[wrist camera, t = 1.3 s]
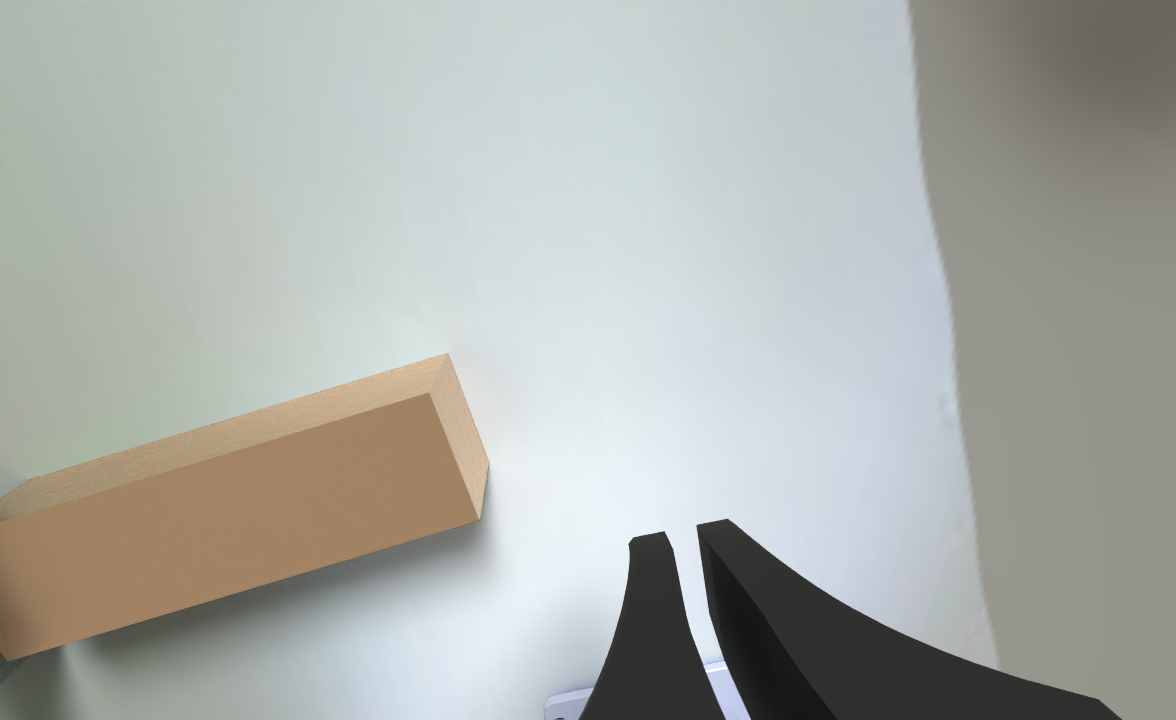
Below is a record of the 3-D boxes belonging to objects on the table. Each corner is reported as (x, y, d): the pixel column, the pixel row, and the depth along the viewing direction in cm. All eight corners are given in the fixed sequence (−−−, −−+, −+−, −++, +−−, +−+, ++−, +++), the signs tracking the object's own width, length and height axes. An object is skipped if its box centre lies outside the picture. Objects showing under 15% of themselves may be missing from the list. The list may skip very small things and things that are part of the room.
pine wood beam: (489, 458, 22) (479, 520, 18) (99, 575, 22) (7, 661, 18) (449, 350, 21) (429, 392, 17) (37, 475, 21) (-76, 544, 17)
